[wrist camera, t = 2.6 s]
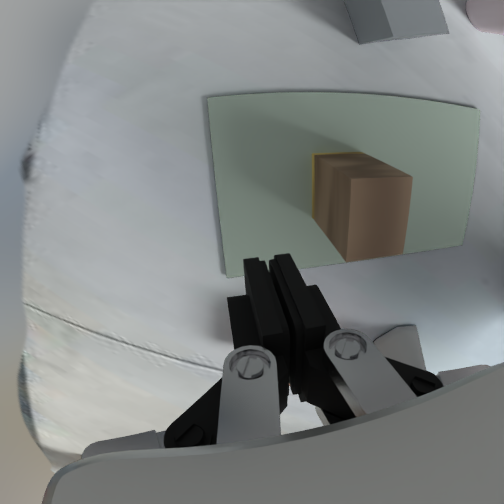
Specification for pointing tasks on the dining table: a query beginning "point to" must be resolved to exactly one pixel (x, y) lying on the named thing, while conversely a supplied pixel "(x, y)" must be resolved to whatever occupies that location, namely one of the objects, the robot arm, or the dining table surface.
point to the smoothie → (486, 15)
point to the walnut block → (360, 204)
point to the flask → (402, 346)
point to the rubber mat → (331, 141)
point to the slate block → (395, 19)
